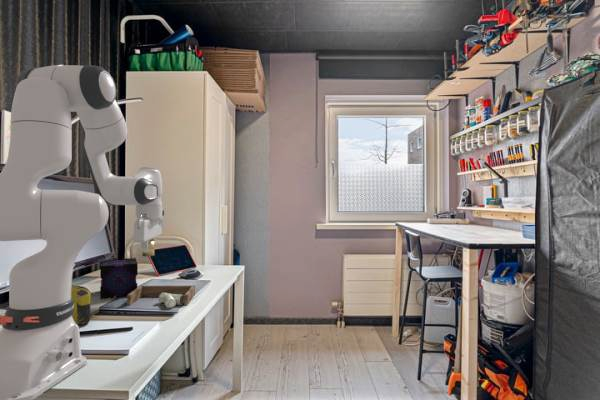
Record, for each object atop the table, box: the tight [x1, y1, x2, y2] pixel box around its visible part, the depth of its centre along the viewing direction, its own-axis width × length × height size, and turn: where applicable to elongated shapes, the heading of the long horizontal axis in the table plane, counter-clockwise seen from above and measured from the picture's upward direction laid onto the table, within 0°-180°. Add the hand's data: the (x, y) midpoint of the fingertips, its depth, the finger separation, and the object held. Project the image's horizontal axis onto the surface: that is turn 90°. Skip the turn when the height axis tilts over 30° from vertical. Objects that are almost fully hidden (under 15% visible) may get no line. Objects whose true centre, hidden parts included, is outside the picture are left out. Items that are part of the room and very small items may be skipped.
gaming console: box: [71, 284, 92, 326], centre depth 107 cm, size 26×4×10 cm, turn 57°
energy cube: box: [99, 257, 139, 300], centre depth 133 cm, size 12×12×12 cm
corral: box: [126, 285, 196, 307], centre depth 125 cm, size 12×20×4 cm, turn 95°
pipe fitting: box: [158, 292, 185, 309], centre depth 120 cm, size 8×4×7 cm
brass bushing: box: [141, 240, 156, 258], centre depth 128 cm, size 4×4×5 cm
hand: (148, 250), depth 128 cm, fingers closed on brass bushing, 4 cm apart
